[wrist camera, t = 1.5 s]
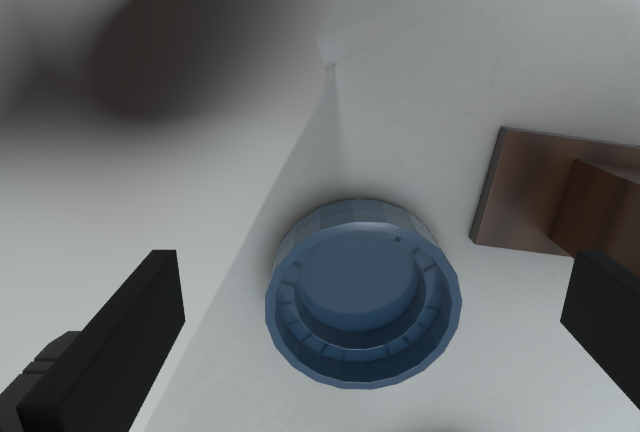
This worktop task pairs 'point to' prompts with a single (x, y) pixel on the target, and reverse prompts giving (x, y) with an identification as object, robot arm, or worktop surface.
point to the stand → (561, 197)
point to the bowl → (361, 296)
